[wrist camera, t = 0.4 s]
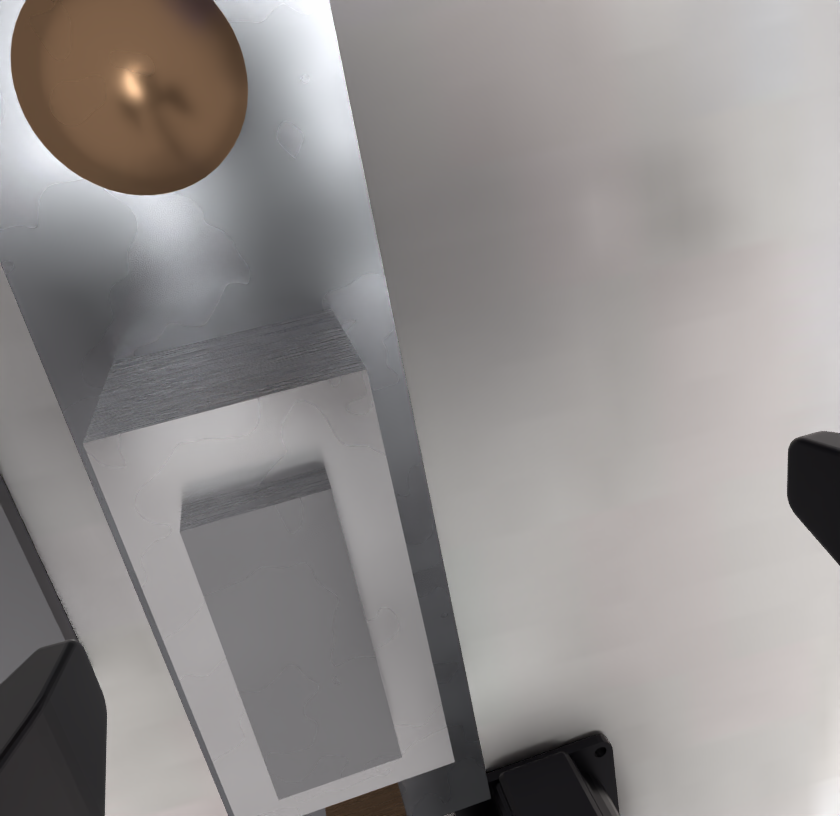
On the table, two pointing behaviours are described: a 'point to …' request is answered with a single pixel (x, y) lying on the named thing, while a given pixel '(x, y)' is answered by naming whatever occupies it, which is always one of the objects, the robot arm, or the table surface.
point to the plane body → (209, 245)
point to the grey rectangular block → (274, 561)
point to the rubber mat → (24, 594)
